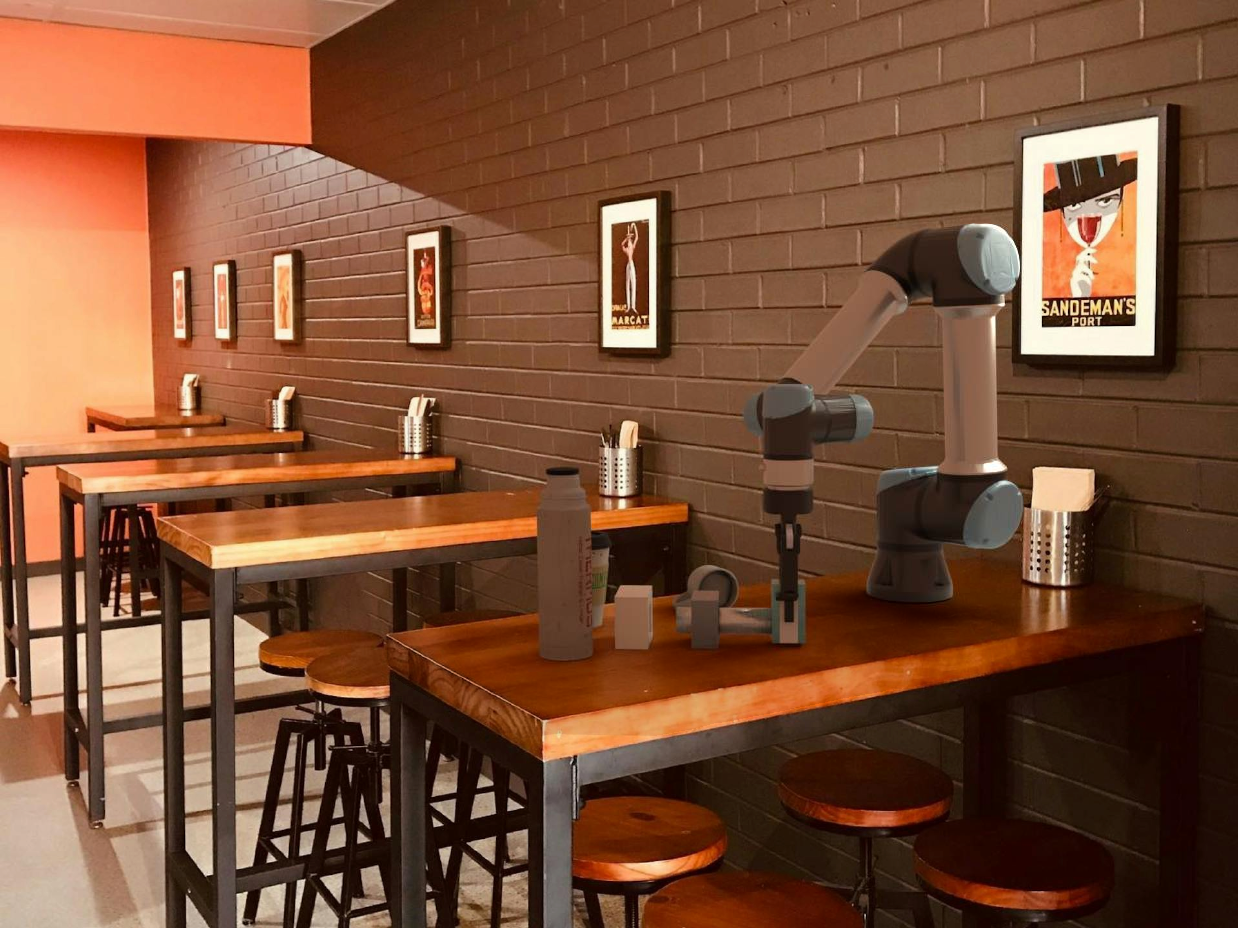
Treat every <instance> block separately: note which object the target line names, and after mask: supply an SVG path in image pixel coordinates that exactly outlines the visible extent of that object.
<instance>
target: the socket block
mask: <svg viewBox="0 0 1238 928" xmlns="http://www.w3.org/2000/svg"><path fill="white" fill-rule="evenodd" d="M653 626H654V625H653V585H637V584H635V585H631V584H630V585H626V584H625V585H623V584H622V585H619V588H618V589H617V592H616V594H615V595H614V646H615V648H614V649H615V650H649V648H650V645H651V641H652V639H653V636H654V635H653V633H654V630H653Z"/></svg>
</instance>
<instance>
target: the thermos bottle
mask: <svg viewBox="0 0 1238 928" xmlns="http://www.w3.org/2000/svg"><path fill="white" fill-rule="evenodd" d="M545 474H546V475H547V477H546V487H545V488H544V489H542V490H541V491H540V495H539V497H540V501H541V502H540V504H539V505H537V506H536V542H537V543H536V544H537V546H536V548H537V549H536V550H537V552H536V553H537V589H538V593H537V594H538V637H539V638H538V640H539V641H538V643H539V645H538V646H539V647H538V648H539V652H538V653H539V656H540V658H542V659H546V660H551V661H558V662H567V661H570V662H571V661H579V660H583V659H587V658H590V657H592V656H593V654H594V650H593V649H594V644H593V643H594V641H593V639H594V637H593V636H594V635H593V634H594V633H593V629H594V628H593V625H592V561H591V530H592V513H591V512H592V509H591V508H592V507H591V505H590V504H588V503H587V497H588V496H587V495H586V490H585V489H584V488H583V487H581V483H580V481H581V480H580V479H581V478H580V477H579V475H580V468H579V467H574V466H573V467H570V466H557V467H549V468H545Z"/></svg>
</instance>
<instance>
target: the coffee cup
mask: <svg viewBox="0 0 1238 928" xmlns="http://www.w3.org/2000/svg"><path fill="white" fill-rule="evenodd" d="M612 546H613V543H612V540H610V537H609V533H608V532H606V531H603V530H594V529H593V530H592V529H591V561H592V625H593V629H594V628H598V627H601V626H602V625H603V616H604V608H605V606H604V605H605V603H606V596H607V586H608V575H609V568H610V562H609V554H610V548H611V547H612Z"/></svg>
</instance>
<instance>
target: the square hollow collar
mask: <svg viewBox="0 0 1238 928" xmlns="http://www.w3.org/2000/svg"><path fill="white" fill-rule="evenodd" d="M718 608H719V591H693V594H692V599H691V634H690V635H691V650H692V649H693V650H697V649H699V650H702V649H703V650H719V642H720V634H718Z"/></svg>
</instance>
